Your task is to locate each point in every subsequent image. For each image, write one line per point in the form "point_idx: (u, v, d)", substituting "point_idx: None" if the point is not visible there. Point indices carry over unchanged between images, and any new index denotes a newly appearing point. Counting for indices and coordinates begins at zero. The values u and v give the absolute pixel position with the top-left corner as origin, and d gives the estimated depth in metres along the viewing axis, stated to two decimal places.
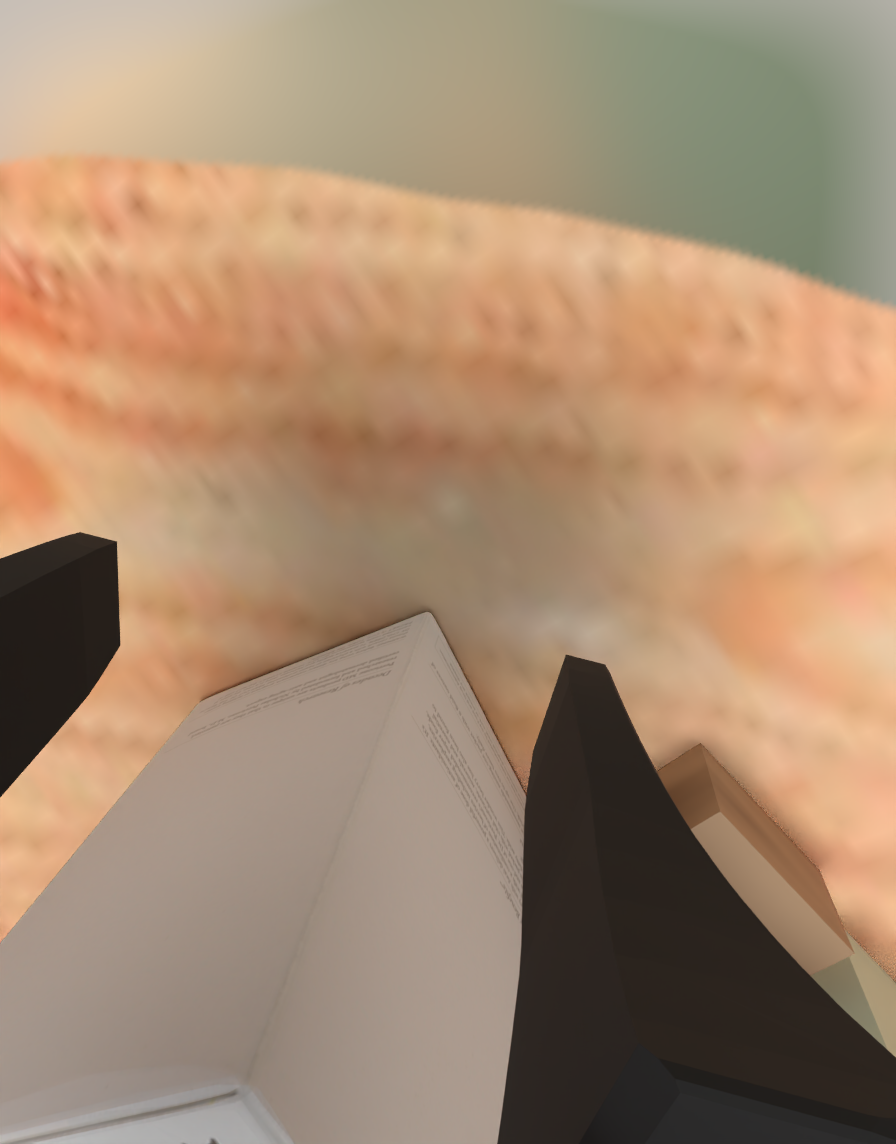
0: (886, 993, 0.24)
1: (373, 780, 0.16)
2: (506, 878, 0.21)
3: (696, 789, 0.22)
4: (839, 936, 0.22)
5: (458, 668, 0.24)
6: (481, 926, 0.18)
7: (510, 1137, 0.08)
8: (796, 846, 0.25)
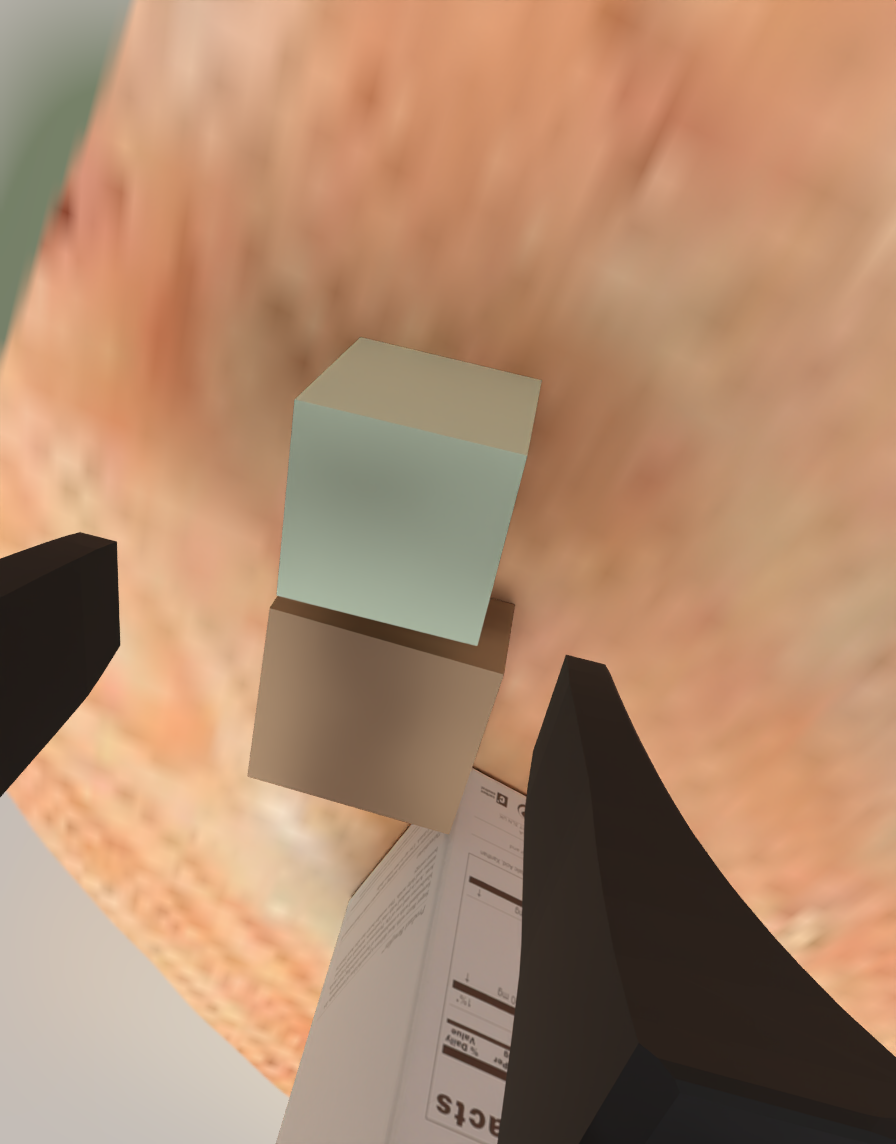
0: None
1: (278, 1135, 0.23)
2: (390, 932, 0.22)
3: None
4: (268, 627, 0.20)
5: (368, 879, 0.28)
6: (352, 1037, 0.21)
7: (510, 1137, 0.08)
8: None
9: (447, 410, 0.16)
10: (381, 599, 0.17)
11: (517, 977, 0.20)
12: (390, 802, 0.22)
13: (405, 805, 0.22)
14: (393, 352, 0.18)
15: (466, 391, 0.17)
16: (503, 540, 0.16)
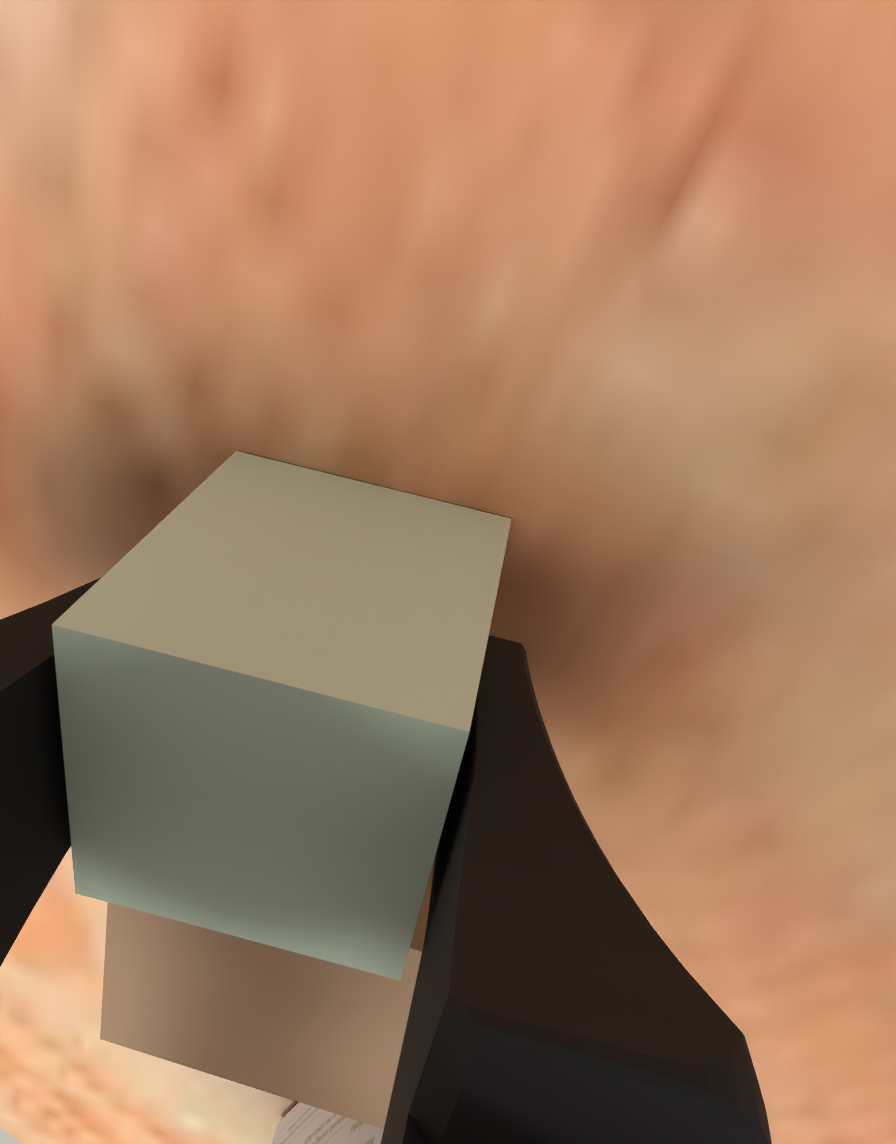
0: None
1: None
2: None
3: None
4: None
5: (299, 1106, 0.22)
6: None
7: (392, 1104, 0.08)
8: None
9: (340, 617, 0.09)
10: (241, 911, 0.10)
11: None
12: (299, 1086, 0.16)
13: (320, 1091, 0.16)
14: (279, 482, 0.12)
15: (384, 562, 0.11)
16: (434, 850, 0.09)
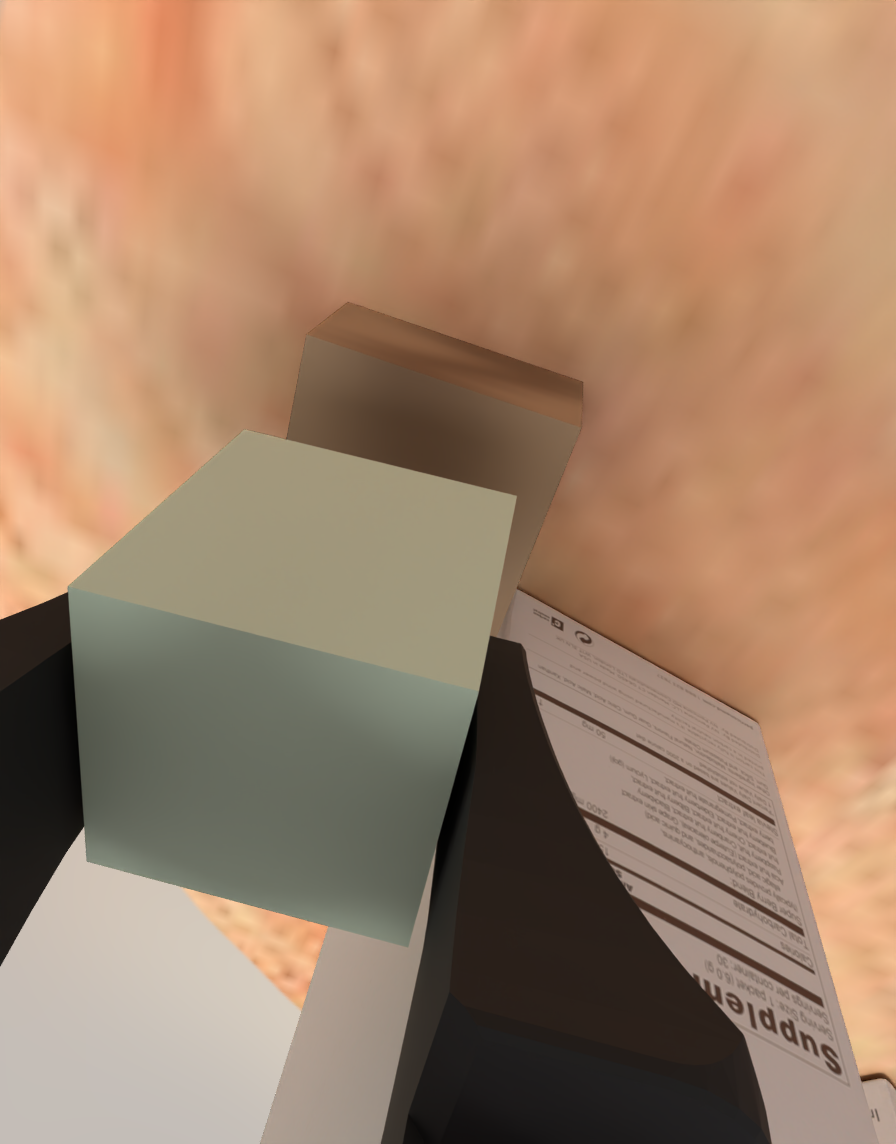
0: None
1: (307, 994, 0.19)
2: None
3: None
4: (301, 364, 0.17)
5: None
6: None
7: (392, 1104, 0.08)
8: None
9: (350, 585, 0.09)
10: (250, 877, 0.10)
11: (591, 785, 0.17)
12: None
13: None
14: (286, 458, 0.12)
15: (392, 533, 0.11)
16: (442, 812, 0.09)
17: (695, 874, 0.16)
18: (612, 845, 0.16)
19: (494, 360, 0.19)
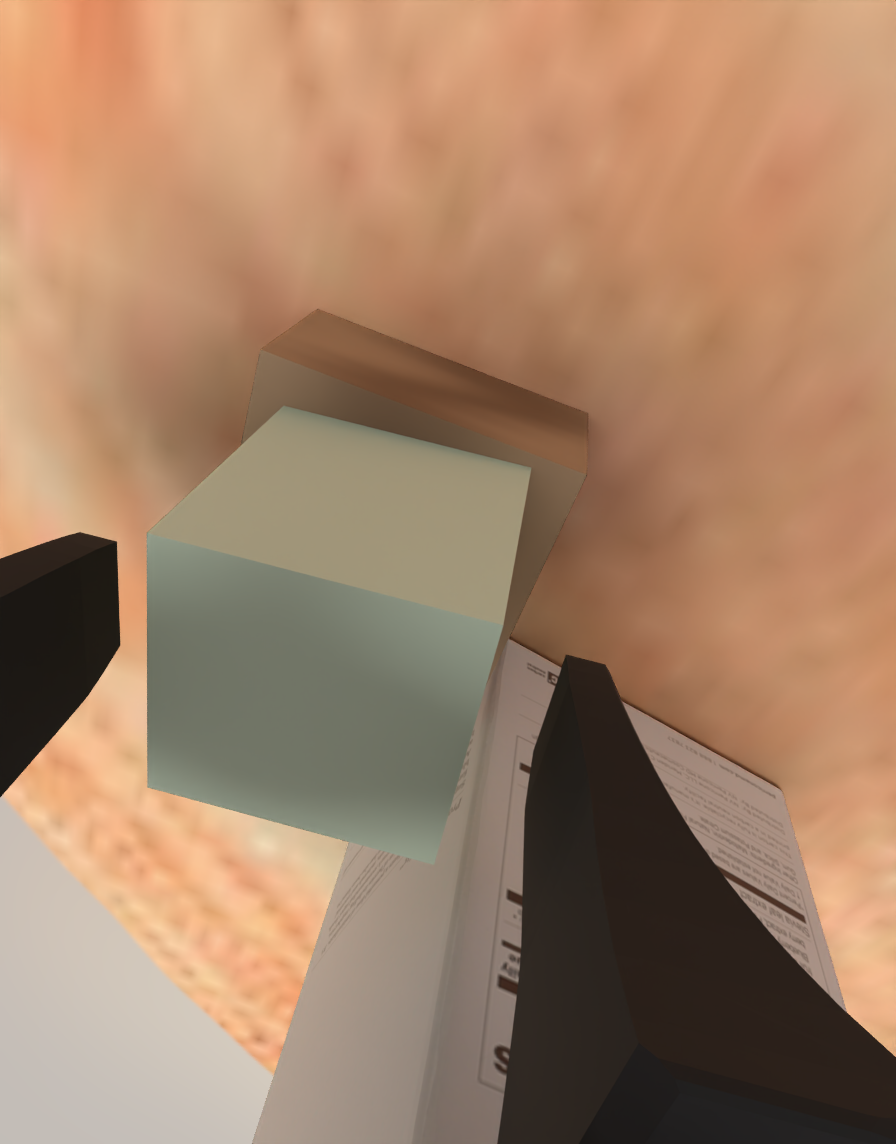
0: None
1: (260, 1117, 0.17)
2: None
3: None
4: (254, 384, 0.14)
5: None
6: (361, 978, 0.15)
7: (510, 1137, 0.08)
8: None
9: (387, 538, 0.11)
10: (295, 800, 0.12)
11: None
12: None
13: None
14: (324, 431, 0.13)
15: (421, 496, 0.12)
16: (468, 736, 0.10)
17: None
18: None
19: (486, 385, 0.16)
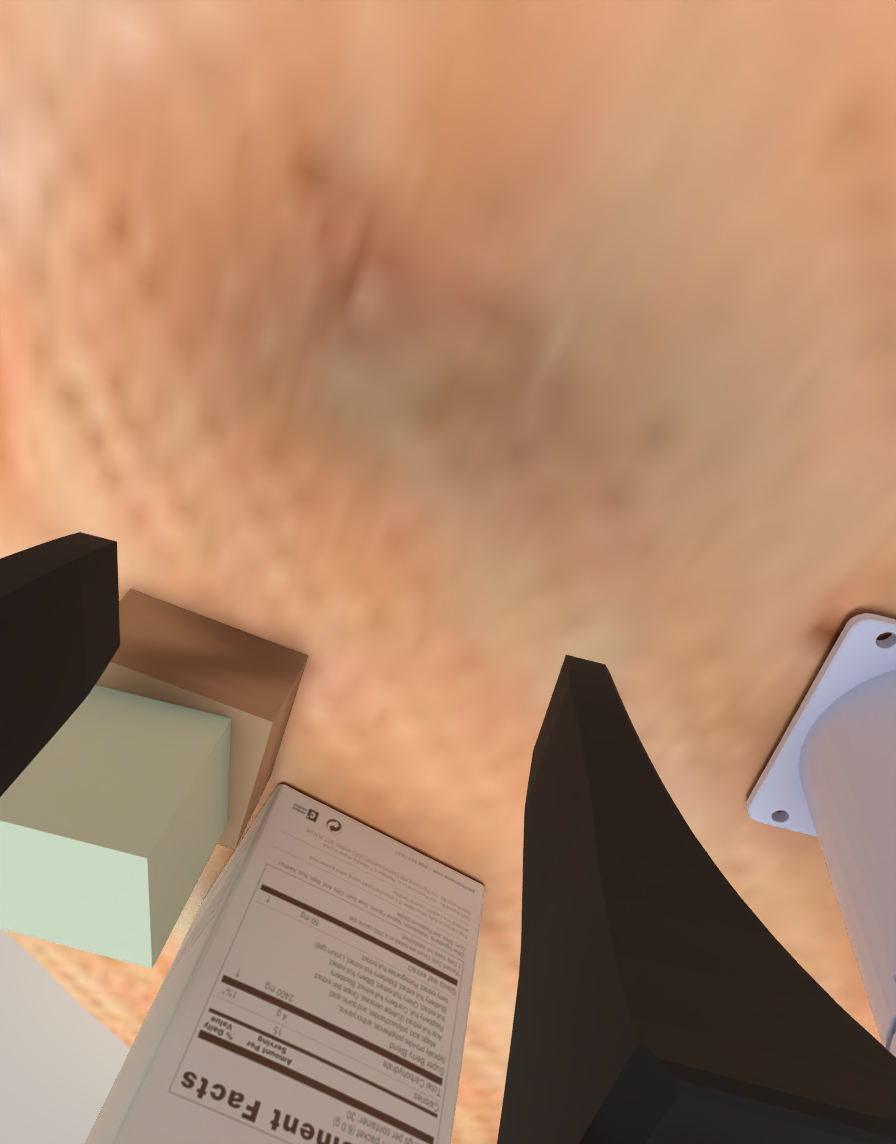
0: None
1: None
2: (197, 933, 0.26)
3: None
4: None
5: None
6: (150, 1025, 0.24)
7: (510, 1137, 0.08)
8: None
9: (106, 797, 0.20)
10: (70, 934, 0.21)
11: (288, 973, 0.23)
12: None
13: None
14: (101, 704, 0.22)
15: (142, 758, 0.21)
16: (147, 907, 0.19)
17: (356, 1042, 0.23)
18: (287, 1026, 0.22)
19: (236, 643, 0.25)
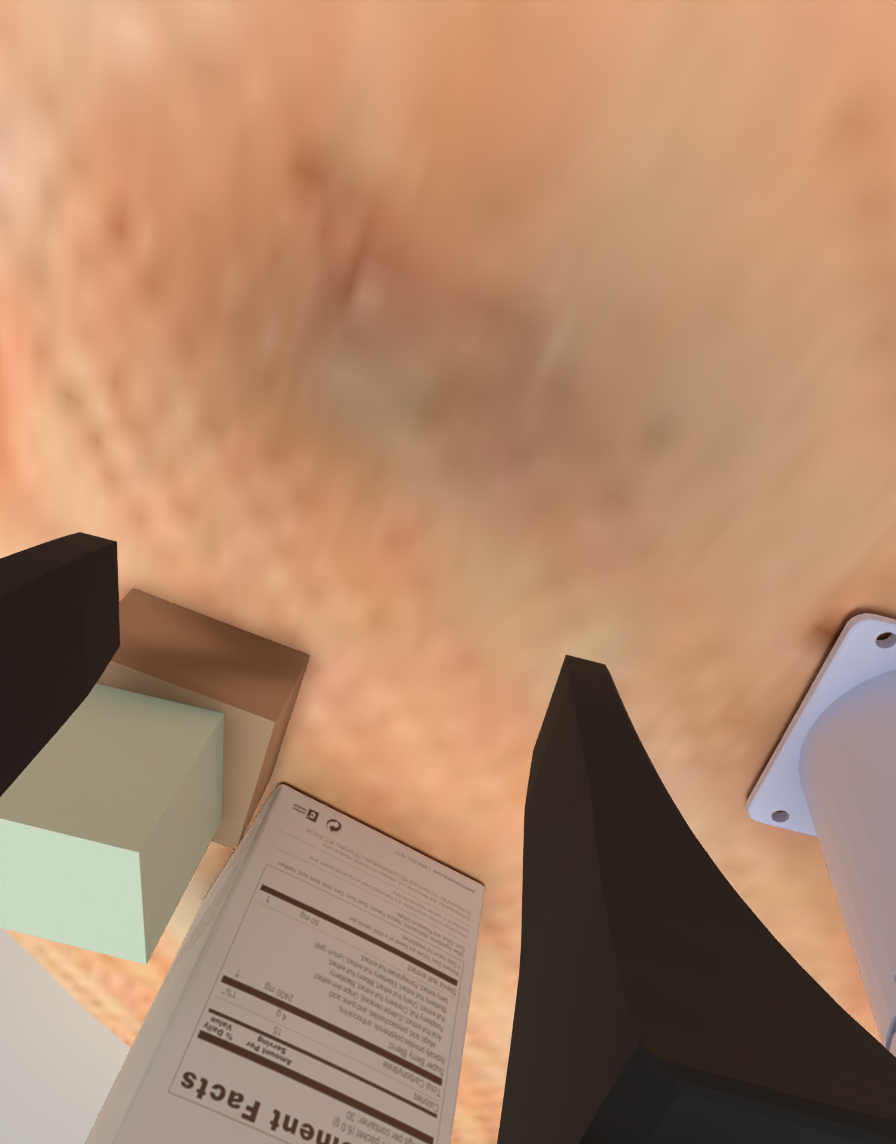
0: None
1: (99, 1113, 0.26)
2: (197, 933, 0.26)
3: None
4: None
5: None
6: (150, 1025, 0.24)
7: (510, 1137, 0.08)
8: None
9: (98, 792, 0.20)
10: (64, 931, 0.21)
11: (287, 973, 0.23)
12: None
13: None
14: (93, 700, 0.22)
15: (135, 753, 0.21)
16: (140, 902, 0.19)
17: (355, 1042, 0.23)
18: (286, 1026, 0.22)
19: (238, 642, 0.25)
